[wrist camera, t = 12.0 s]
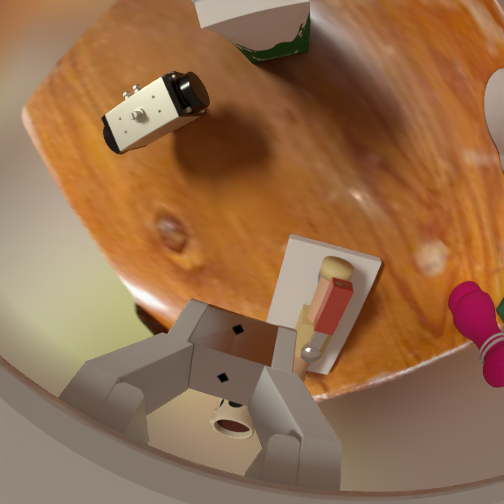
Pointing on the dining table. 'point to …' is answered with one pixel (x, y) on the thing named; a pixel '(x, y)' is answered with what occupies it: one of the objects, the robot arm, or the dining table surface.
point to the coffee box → (501, 309)
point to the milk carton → (259, 25)
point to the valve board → (307, 285)
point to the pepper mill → (480, 328)
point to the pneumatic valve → (154, 111)
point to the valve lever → (327, 317)
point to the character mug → (232, 420)
